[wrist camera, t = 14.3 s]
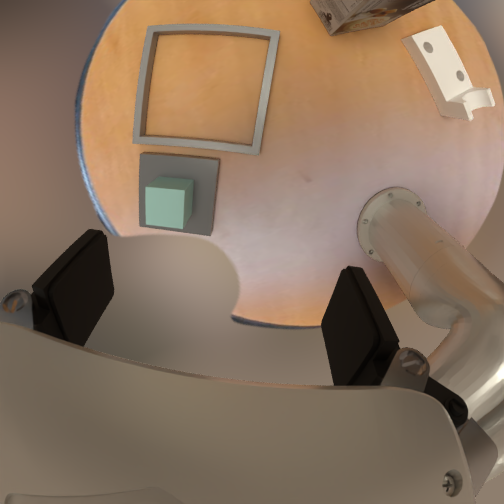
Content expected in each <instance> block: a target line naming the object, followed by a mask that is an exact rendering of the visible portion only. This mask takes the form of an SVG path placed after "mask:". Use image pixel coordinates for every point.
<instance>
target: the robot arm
mask: <svg viewBox="0 0 504 504" xmlns="http://www.w3.org/2000/svg"><path fill="white" fill-rule="evenodd" d="M388 194H389V195H388ZM364 219H365V220H364ZM363 220H364V221H363ZM357 235H358V240H359V243H360V245H361V247H362V249H363V250H364V252H365V253H366V254H367V255H368V256H369V257H371V258H372V259H374V260H376V261H379V262H384V264H385V265H386V267H387V268H388V270H389V271H390V273H391V274H392V276H393V277H394V279H395V280H396V282H397V283H398V285H399V286H400V288H401V290H402V291H403V293H404V294H405V296H406V298H407V299H408V301H409V302H410V304H411V306H412V307H413V309H414V310H415V312H416V314H417V315H418V316H419V318H421V320H423V321H424V322H425V323H427V324H429V325H431V326H434V327H438V328H443V329H450V332H449V333H448V335H447V337H445V339H444V340H443V341H442V342H441V343H440V345H439V346H438V347H437V348H436V349H435V350H434V351H433V352H432V353H431V354H430V355H429V356H428V357H427V358H426V357H425V356H424V355H423V354H422V353H420V352H419V351H418V350H415V349H413V348H408V347H405V348H402V349H400V347H399V345H398V342H399V339H398V337H397V335H396V333H395V331H394V329H393V326H392V324H391V322H390V320H389V318H388V316H387V314H386V312H385V310H384V308H383V306H382V304H381V302H380V300H379V298H378V296H377V294H376V292H375V291H374V289H373V287H372V285H371V283H370V281H369V279H368V277H367V276H366V274H365V272H364V270H363V269H362V268H360V267H353V266H348V267H347V268H346V269H343V270H342V271H341V273H340V276H339V279H338V281H337V284H336V286H335V289H334V292H333V294H332V297H331V299H330V302H329V304H328V307H327V309H326V312H325V314H324V316H323V319H322V323H321V328H322V332H323V337H324V341H325V346H326V350H327V355H328V359H329V364H330V369H331V374H332V378H333V383H334V386H324V385H322V386H321V385H295V384H278V383H265V382H254V381H245V380H236V379H228V378H220V377H213V376H206V375H200V374H194V373H188V372H183V371H177V370H172V369H167V368H162V367H157V366H152V365H148V364H144V363H140V362H136V361H132V360H128V359H124V358H120V357H116V356H113V355H109V354H105V353H102V352H99V351H95V350H92V349H89V348H85V347H84V345H85V343H86V341H87V340H88V338H89V336H90V334H91V332H92V331H93V329H94V327H95V325H96V324H97V322H98V320H99V319H100V317H101V315H102V314H103V312H104V310H105V309H106V307H107V305H108V304H109V302H110V300H111V299H112V297H113V295H114V285H113V279H112V273H111V266H110V259H109V251H108V243H107V237H106V235H104V233H103V232H102V231H100V230H94V229H89V230H87V231H86V232H85V233H84V234H83V235H82V236H81V237H80V238H78V240H76V241H75V242H74V243H73V244H72V245H71V246H70V247H69V248H68V249H67V250H66V251H65V252H64V253H63V254H62V255H61V256H60V257H59V258H58V259H57V260H56V261H55V262H54V263H53V264H52V265H51V266H50V267H49V268H48V269H47V270H46V271H45V272H44V273H43V274H42V275H41V276H40V277H39V278H38V279H37V281H36V282H35V283H34V284H33V285H32V288H33V291H34V292H33V293H32V294H30V293H29V292H28V291H27V290H24V289H18V290H14V291H12V292H10V293H8V294H7V295H5V297H3V299H2V300H1V302H0V504H476V501H475V497H476V495H477V494H478V492H479V491H480V489H481V488H482V486H483V484H484V483H485V482H487V481H489V480H491V479H493V478H495V477H496V476H498V475H500V474H501V473H503V472H504V283H503V282H502V281H501V280H499V279H498V278H497V277H496V276H495V275H493V274H492V273H491V272H490V271H489V270H488V269H487V268H486V267H485V266H484V265H482V264H481V263H480V262H479V261H478V260H477V259H476V258H475V257H474V256H473V255H472V254H471V253H470V252H469V251H468V250H466V249H465V248H464V247H463V246H462V245H461V244H460V243H459V242H458V241H456V240H455V239H454V238H453V237H452V236H451V235H450V234H449V233H447V232H446V231H445V230H444V229H443V228H442V227H440V226H439V225H438V224H437V223H436V222H434V221H433V220H432V219H431V218H430V217H428V216H427V212H426V208H425V206H424V204H423V202H422V200H421V199H420V198H419V197H418V196H417V195H416V194H414V193H413V192H411V191H410V190H408V189H404V188H398V187H395V188H389V189H386V190H383V191H381V192H379V193H378V194H376V195H375V196H374V197H373V198H371V199H370V200H369V202H368V203H367V204H366V205H365V207H364V209H363V210H362V212H361V215H360V217H359V220H358V226H357Z"/></svg>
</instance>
